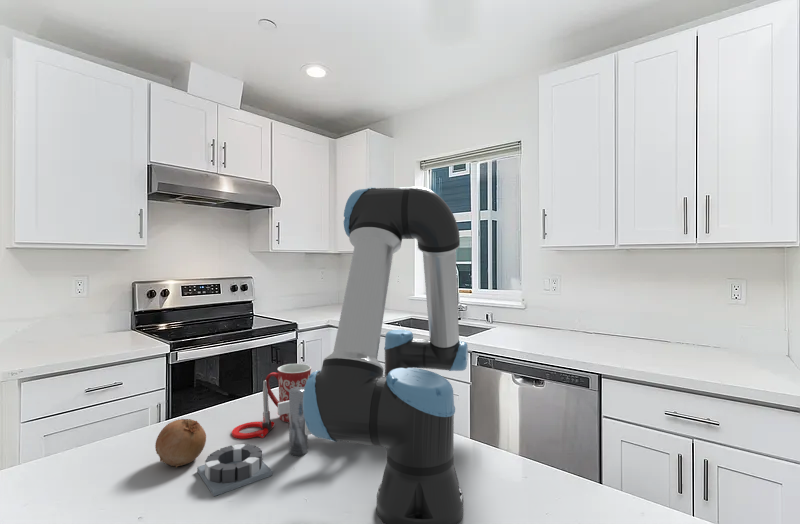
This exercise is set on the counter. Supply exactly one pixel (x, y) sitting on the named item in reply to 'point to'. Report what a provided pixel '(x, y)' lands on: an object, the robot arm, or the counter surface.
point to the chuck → (233, 468)
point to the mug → (288, 382)
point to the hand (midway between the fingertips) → (291, 418)
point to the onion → (180, 442)
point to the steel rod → (297, 423)
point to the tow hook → (265, 425)
